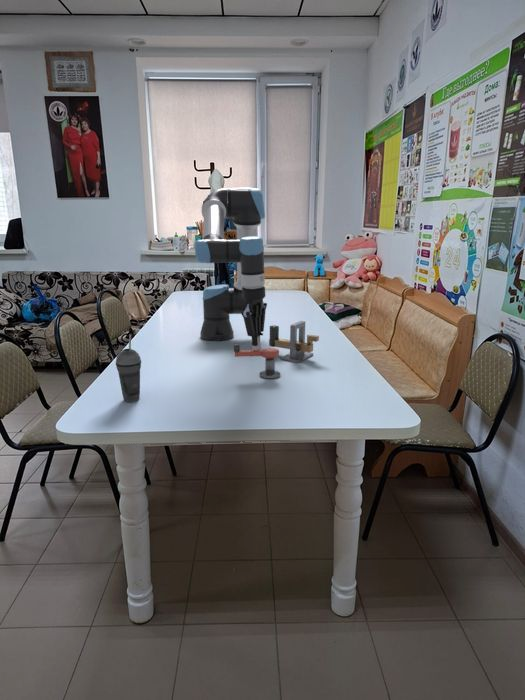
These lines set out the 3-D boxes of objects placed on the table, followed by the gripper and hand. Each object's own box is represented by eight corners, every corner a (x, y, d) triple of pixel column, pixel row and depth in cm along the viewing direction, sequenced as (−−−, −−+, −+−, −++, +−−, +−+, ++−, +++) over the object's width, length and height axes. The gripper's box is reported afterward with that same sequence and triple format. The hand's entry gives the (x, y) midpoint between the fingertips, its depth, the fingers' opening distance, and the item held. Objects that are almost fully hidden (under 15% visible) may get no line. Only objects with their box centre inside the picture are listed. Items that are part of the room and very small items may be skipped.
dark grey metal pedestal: (255, 376, 153) (255, 357, 151) (266, 371, 158) (266, 352, 156) (273, 380, 149) (273, 360, 147) (283, 374, 155) (284, 355, 153)
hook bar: (267, 345, 178) (267, 326, 176) (272, 343, 181) (272, 325, 179) (315, 353, 168) (315, 333, 165) (319, 351, 171) (319, 331, 168)
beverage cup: (121, 395, 136) (115, 331, 131) (146, 394, 137) (141, 331, 131) (116, 404, 129) (109, 337, 124) (142, 403, 130) (136, 337, 124)
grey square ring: (280, 359, 171) (281, 324, 168) (295, 352, 181) (296, 319, 177) (299, 362, 167) (300, 327, 164) (313, 355, 177) (314, 321, 173)
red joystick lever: (233, 358, 148) (233, 347, 147) (233, 353, 154) (233, 342, 153) (279, 358, 149) (279, 346, 148) (278, 352, 155) (278, 342, 154)
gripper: (253, 291, 138) (256, 361, 147) (272, 282, 148) (275, 349, 157) (233, 289, 142) (237, 358, 150) (253, 281, 152) (256, 346, 160)
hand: (256, 353), depth 153 cm, fingers closed
